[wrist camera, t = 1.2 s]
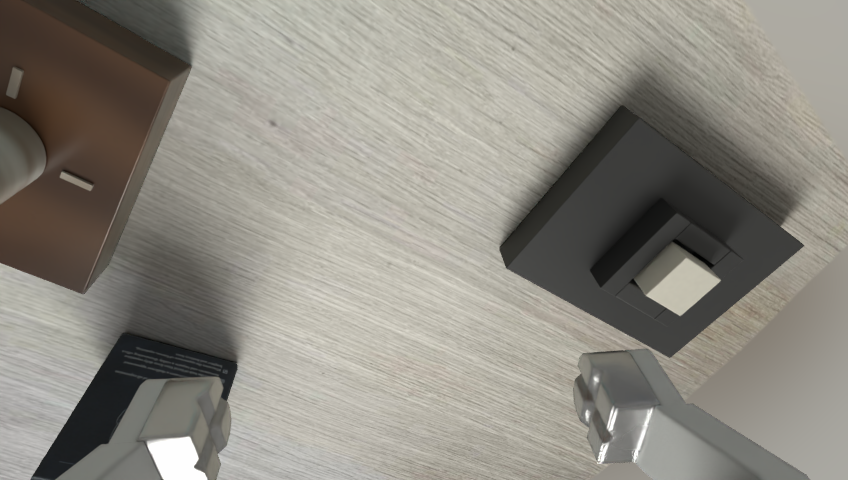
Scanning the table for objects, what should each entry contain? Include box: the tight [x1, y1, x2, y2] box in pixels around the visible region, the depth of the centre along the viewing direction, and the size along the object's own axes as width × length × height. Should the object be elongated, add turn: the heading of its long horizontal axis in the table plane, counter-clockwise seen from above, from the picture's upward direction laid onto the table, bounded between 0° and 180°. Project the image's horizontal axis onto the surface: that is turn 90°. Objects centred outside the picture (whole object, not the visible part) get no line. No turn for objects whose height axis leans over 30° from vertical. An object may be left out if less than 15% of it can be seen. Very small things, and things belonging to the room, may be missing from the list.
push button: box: [633, 241, 721, 316], centre depth 28 cm, size 3×3×2 cm
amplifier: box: [0, 0, 191, 294], centre depth 24 cm, size 14×11×3 cm
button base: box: [499, 106, 804, 358], centre depth 30 cm, size 11×15×4 cm
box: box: [31, 333, 237, 480], centre depth 31 cm, size 8×6×11 cm
